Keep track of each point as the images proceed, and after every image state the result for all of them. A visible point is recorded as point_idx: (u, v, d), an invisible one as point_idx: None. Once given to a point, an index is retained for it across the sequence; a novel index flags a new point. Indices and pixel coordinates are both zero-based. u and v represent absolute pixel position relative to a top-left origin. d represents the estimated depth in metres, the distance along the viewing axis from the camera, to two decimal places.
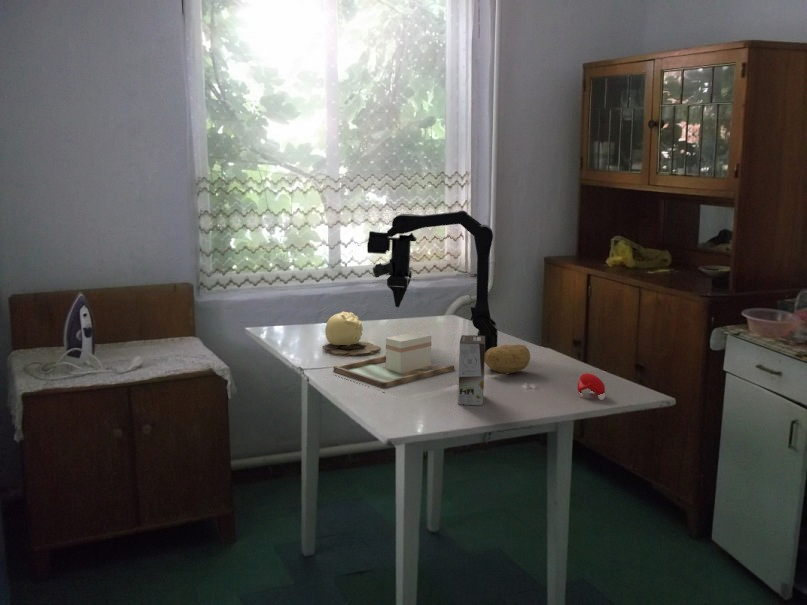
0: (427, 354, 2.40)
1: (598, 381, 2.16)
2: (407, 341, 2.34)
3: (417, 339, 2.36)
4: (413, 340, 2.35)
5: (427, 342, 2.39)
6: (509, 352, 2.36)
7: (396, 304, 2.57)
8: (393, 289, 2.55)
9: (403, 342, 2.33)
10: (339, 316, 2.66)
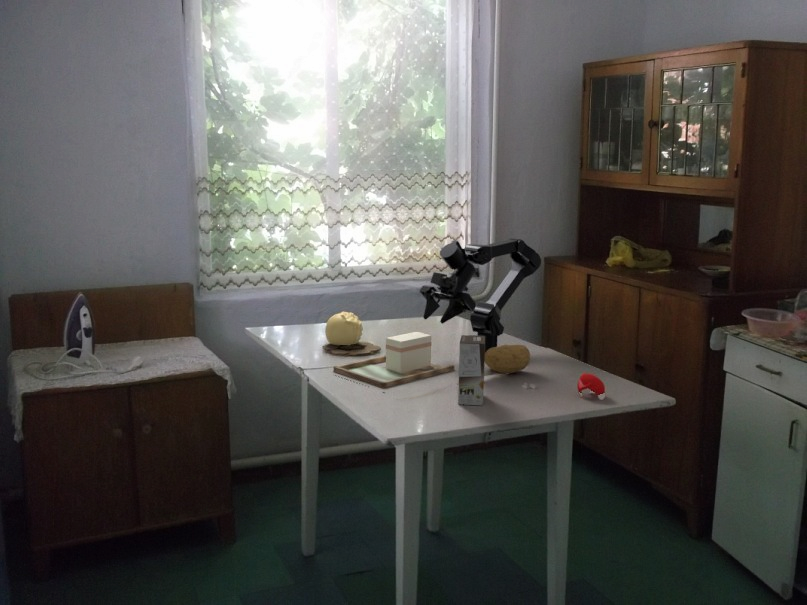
0: (427, 354, 2.40)
1: (598, 381, 2.16)
2: (407, 341, 2.34)
3: (417, 339, 2.36)
4: (413, 340, 2.35)
5: (427, 342, 2.39)
6: (508, 352, 2.36)
7: (443, 320, 2.41)
8: (454, 305, 2.41)
9: (403, 342, 2.33)
10: (339, 316, 2.66)
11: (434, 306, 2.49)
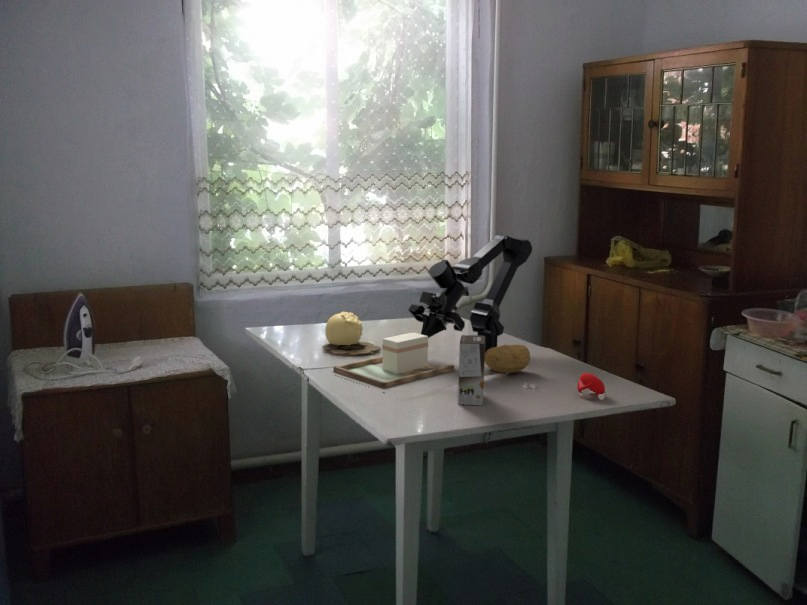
0: (424, 355, 2.39)
1: (598, 381, 2.16)
2: (404, 342, 2.33)
3: (414, 340, 2.36)
4: (410, 341, 2.35)
5: (424, 343, 2.38)
6: (508, 352, 2.36)
7: None
8: (434, 323, 2.42)
9: (399, 343, 2.32)
10: (339, 316, 2.66)
11: None
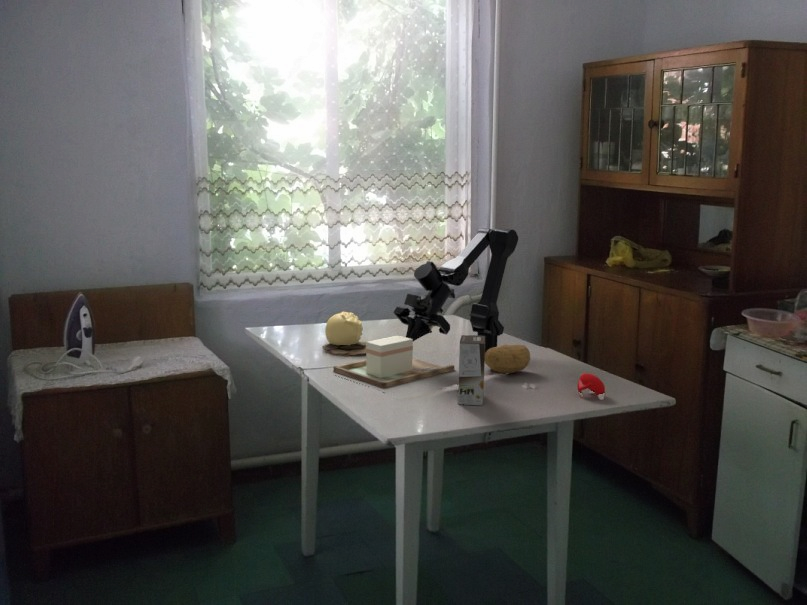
0: (408, 358, 2.35)
1: (597, 381, 2.16)
2: (387, 345, 2.29)
3: (398, 343, 2.31)
4: (394, 344, 2.30)
5: (408, 346, 2.34)
6: (508, 352, 2.36)
7: None
8: (419, 325, 2.38)
9: (383, 346, 2.28)
10: (339, 316, 2.66)
11: None
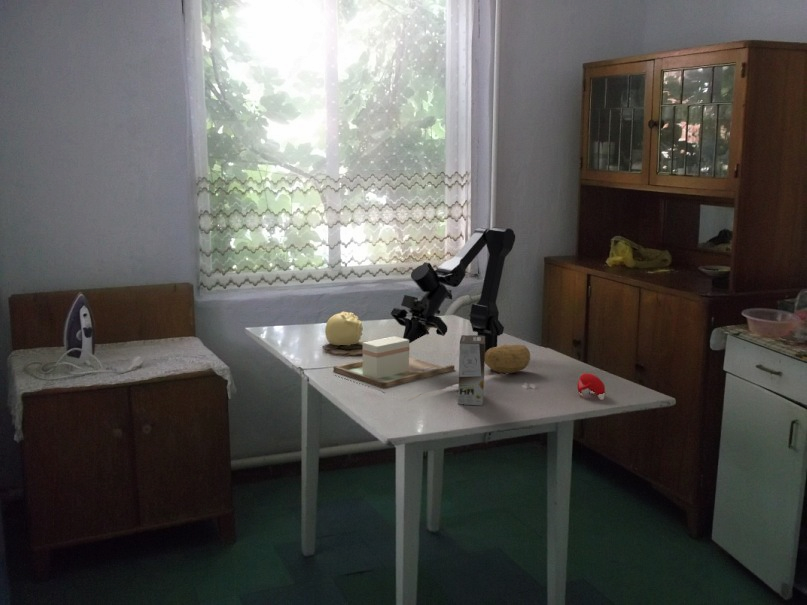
0: (405, 359, 2.34)
1: (598, 381, 2.16)
2: (384, 346, 2.28)
3: (394, 344, 2.31)
4: (390, 345, 2.30)
5: (405, 347, 2.34)
6: (508, 352, 2.36)
7: None
8: (416, 327, 2.37)
9: (380, 347, 2.27)
10: (339, 316, 2.66)
11: None
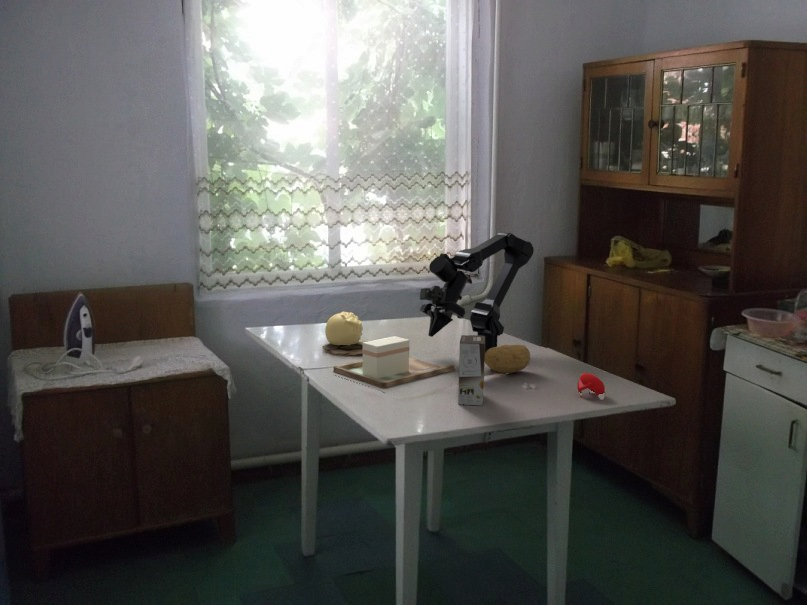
0: (405, 359, 2.34)
1: (597, 381, 2.16)
2: (384, 346, 2.28)
3: (394, 344, 2.31)
4: (390, 345, 2.30)
5: (405, 347, 2.34)
6: (508, 352, 2.36)
7: (431, 333, 2.44)
8: (438, 316, 2.43)
9: (380, 347, 2.27)
10: (339, 316, 2.66)
11: None
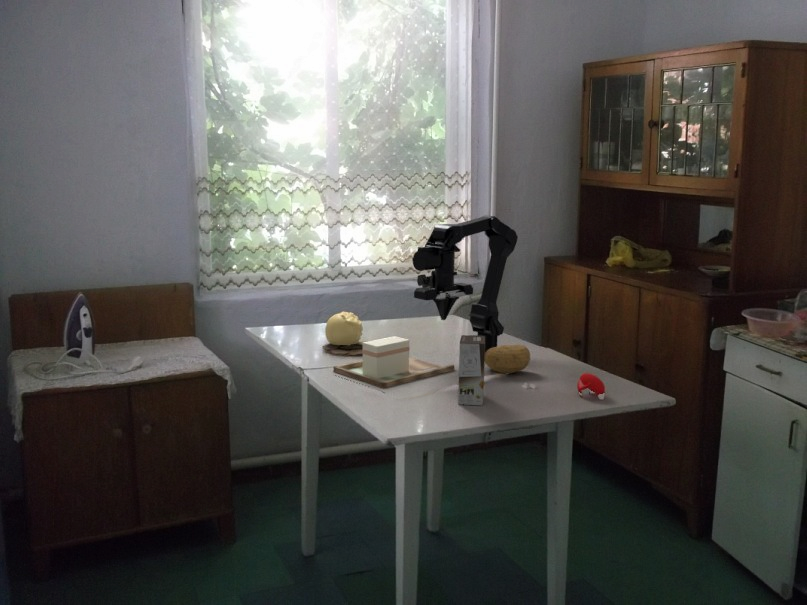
0: (405, 359, 2.34)
1: (597, 381, 2.16)
2: (384, 346, 2.28)
3: (394, 344, 2.31)
4: (390, 345, 2.30)
5: (405, 347, 2.34)
6: (508, 352, 2.36)
7: (441, 317, 2.48)
8: (435, 300, 2.47)
9: (380, 347, 2.27)
10: (339, 316, 2.66)
11: None
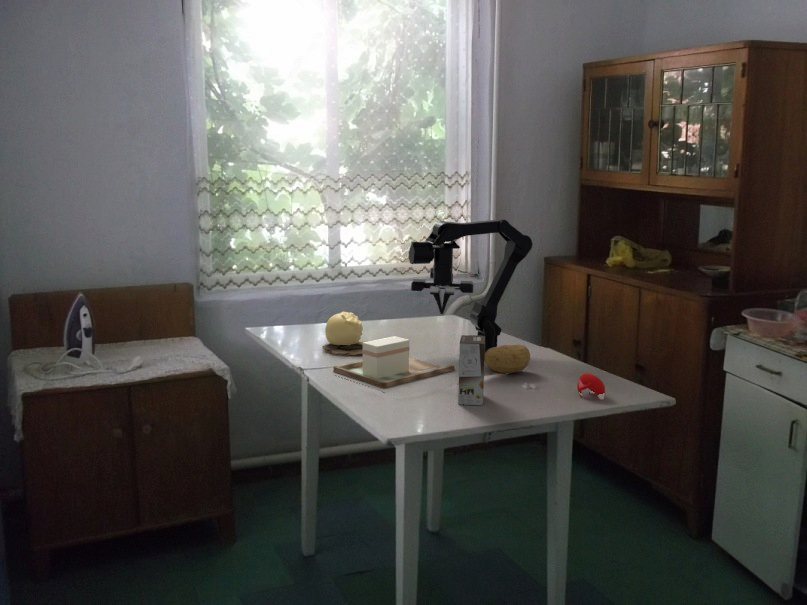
0: (405, 359, 2.34)
1: (597, 381, 2.16)
2: (384, 346, 2.28)
3: (394, 344, 2.31)
4: (390, 345, 2.30)
5: (405, 347, 2.34)
6: (508, 352, 2.36)
7: None
8: None
9: (380, 347, 2.27)
10: (339, 316, 2.66)
11: None
